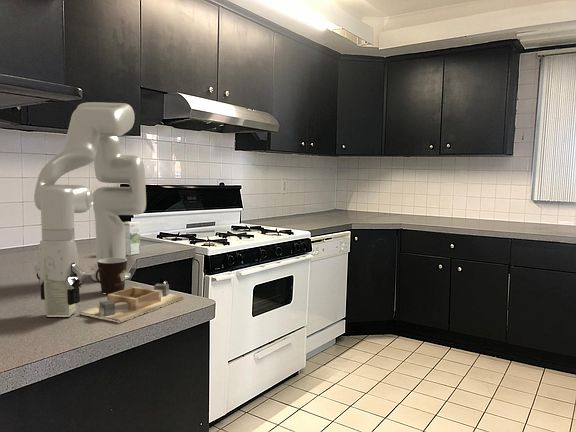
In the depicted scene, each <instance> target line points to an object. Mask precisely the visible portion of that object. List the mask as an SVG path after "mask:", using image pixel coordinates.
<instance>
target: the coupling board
mask: <svg viewBox="0 0 576 432" xmlns="http://www.w3.org/2000/svg"><path fill="white" fill-rule="evenodd" d="M106 296H107V297H106V298H107V299H106V300H102V301H99V304H98V305H95V306H93V307H89V308H87V309H82V310H80V311H79V313H80V312H81V313H85V314H90V315H95V316H98V317H103V318H107V319H112V320H115V321H119V322H121V321H124V320H126V319H129V318H132V317H135V316H137V315H140V314H142V313H145V312H148V311H151V310H154V309H157V308H160V307H162V308H164V307H163V306H165V305H167V306H169V305H168V304H170V305H172V304H171V303H173V302H175V303H177V302H176V301H178V302H180V301H183V300H184V295H179V294H172V293H170V284H169V283H156V284H154V285H153V288H151V289H150V288H146V287H138V286H131V287H129V288H124V290H121V291H118V292H114V293H111V294H108V295H106ZM179 300H180V301H179ZM173 304H174V303H173ZM165 307H166V306H165ZM160 309H161V308H160ZM157 310H158V309H157Z"/></svg>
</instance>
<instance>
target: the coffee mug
mask: <svg viewBox="0 0 576 432" xmlns="http://www.w3.org/2000/svg"><path fill="white" fill-rule="evenodd" d="M97 263H98V270H97V271H96V279H97V281H96V282H98V283H99V284H100V288H101V294H102V293H106V294H111V293H114V292H118V291H121V290H124V289H125V284H126V279H125V277H126V272H127V266H128V259H127V258H126V259H125V258H105V259H100V260H98V261H97ZM98 272H99V276H100V280H99V279H98Z"/></svg>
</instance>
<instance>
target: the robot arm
mask: <svg viewBox="0 0 576 432" xmlns="http://www.w3.org/2000/svg"><path fill="white" fill-rule="evenodd" d="M134 124H135V111H134V109H133V107H132V106H131V105H130V104H128V103H124V102H104V101H103V102H102V101H101V102H97V101H93V102H91V101H89V102H82V103H80V104H78V105H77V107H76V109H75V110H74V111H73V112H72V114H71V117H70V121H69V126H68V129H67V130H68V131H67V133H66V137H65V141H64V146H63V149H62V151H60V152H58V153H57V154H56V155H54V156H53V157H52V158H51V159H50V160H49V161H48V162H47V163H46V164H45V165H44V166H43V167H42V168H41V170H40V172H39V173H38V177H37V180H36V185H35V189H34V195H33V199H34V200H33V201H34V206H35V208H36V209H38V210H39V211H40V216H41V217H40V218H41V219H40V221H41V240H39V247H38V251H37V252H38V254H37V264H36V265H34V271H35V273H36V275H35V276H36V277H37V279H38V284H39V285H40V300H41V301H42V300H43V301H45V293H44V276H43V272H48V279H49V280H51V281H57V282H64V281H65V282H66V284H67V285H68V287H69V289H68V290H67V300H68V305H72V304H79V303H80V300H81V299H80V288H81V287H82V284H83V283H84V280H85V277H86V273H87V272H85V271H84V270H83V269H82V268H81V267H80V266H79V265H80V264H79V255H78V247H77V244H76V241H75V214H81V213H82V214H83V213H86V212H87V211H89V210H90V209H91V208H92V207H93V208H92V209H93V214H94V219H95V260H96V263H94V264H92V266H89V270H91V271H94V273H93V274H92V275H91V279H92V281H95V282H98V281H97V279H96V271H97V270H98V263H97V261H98V260H100V259H105V258H125V259H127V257H126V256H127V255H126V251H125V226H124V224H123V222H124V221H122V220H121V219H122V218H120V217H119V216H139V215H142V214H144V212H146V209H147V192H146V191H147V189H146V188H147V187H146V171H145V164H144V161H143V160H142V158H141V157H139V156H138V155H132V154H122V153H121V141H120V140H121V139H120V138H119V137H121V136H123V135H124V134H127V133H128V132H129V131H130V130H131V129H132V128H133V126H134ZM91 163H93V167H94V173H95V174H94V175H95V178H96V179H97V181H98V182H100V183H105V184H127V185H129V186H101V187H98V188H96V189H95V190H94V191H93V192H92V190H91V189H90V188H88V187H87V186H86V185H85V186H84V185H81V184H80V185H79V184H77V185H76V184H56V183H57V181H58V180H59V179H60V178H61V177H63V176H64V175H66V174H68V173H70V172H72V171H74V170H77V169H80V168H82V167H85V166H87V165H90V164H91ZM69 276H71V277H69ZM131 277H132V276H131V273H130V272H128V271H126V277H125V280H128V279H130V278H131ZM98 279H99V280H100V276H99V272H98ZM72 280H73V281H74V282H73V284H72V282H71V281H72Z"/></svg>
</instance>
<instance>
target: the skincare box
mask: <svg viewBox="0 0 576 432" xmlns="http://www.w3.org/2000/svg"><path fill="white" fill-rule="evenodd" d="M43 276H44V293H45V300H44V303H45V304H44V306H45V316H46V315H70V314H72V313H73V312H74V311H76V312H77V305H76V304H77V303H76V304H72V305H68V300H67V290H68V289H69V287H68V285H67V284H66V282H65V281H64V282H57V281H51V280H49V279H48V272H43ZM69 277H71V276H69ZM71 282H72V284H73V282H74V281H73V280H72V281H71Z"/></svg>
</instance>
